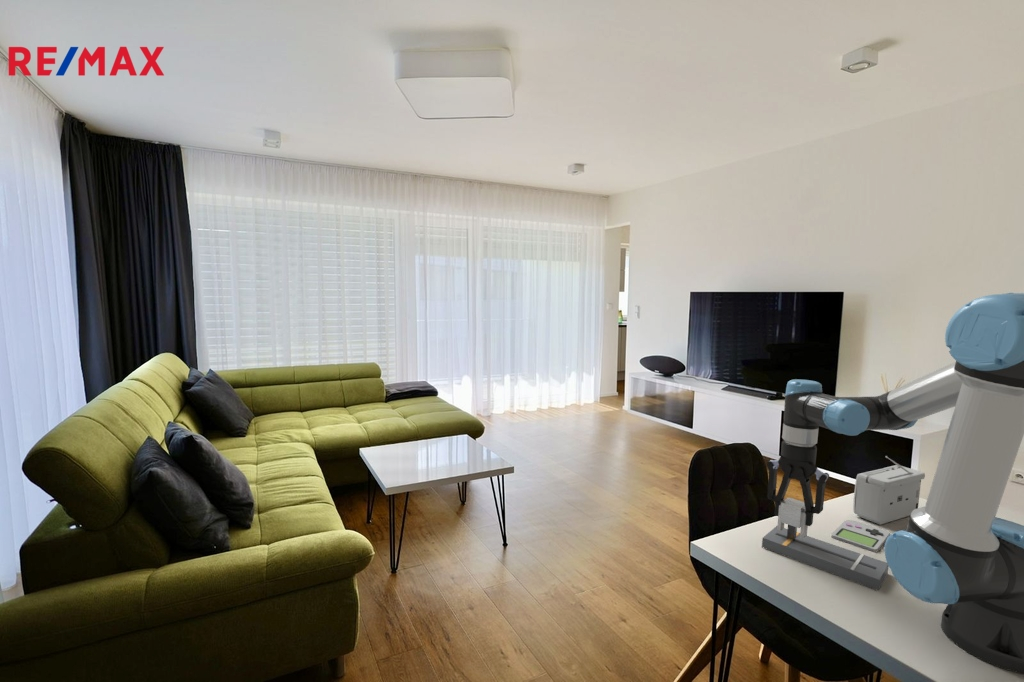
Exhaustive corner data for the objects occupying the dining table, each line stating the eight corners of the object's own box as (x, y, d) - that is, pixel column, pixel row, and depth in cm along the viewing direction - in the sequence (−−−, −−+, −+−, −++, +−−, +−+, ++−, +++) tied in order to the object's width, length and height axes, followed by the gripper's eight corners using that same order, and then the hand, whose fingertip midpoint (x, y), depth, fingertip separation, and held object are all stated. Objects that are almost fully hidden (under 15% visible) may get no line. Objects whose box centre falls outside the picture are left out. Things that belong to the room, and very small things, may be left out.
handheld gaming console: (890, 530, 132) (876, 548, 122) (890, 536, 132) (875, 554, 122) (847, 517, 139) (830, 533, 130) (846, 522, 140) (830, 539, 130)
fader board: (887, 573, 113) (888, 562, 113) (878, 590, 106) (879, 579, 106) (776, 534, 130) (776, 525, 130) (761, 547, 123) (762, 537, 123)
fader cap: (804, 538, 123) (807, 502, 122) (798, 544, 120) (801, 508, 119) (785, 531, 126) (788, 497, 125) (778, 537, 123) (781, 502, 122)
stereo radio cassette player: (891, 504, 152) (897, 441, 150) (922, 515, 145) (929, 449, 143) (850, 515, 143) (856, 449, 141) (881, 528, 136) (888, 458, 134)
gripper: (845, 448, 117) (836, 541, 119) (767, 431, 130) (760, 516, 132) (836, 454, 112) (827, 551, 114) (756, 437, 124) (749, 524, 127)
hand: (791, 532), depth 123 cm, fingers closed on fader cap, 4 cm apart
